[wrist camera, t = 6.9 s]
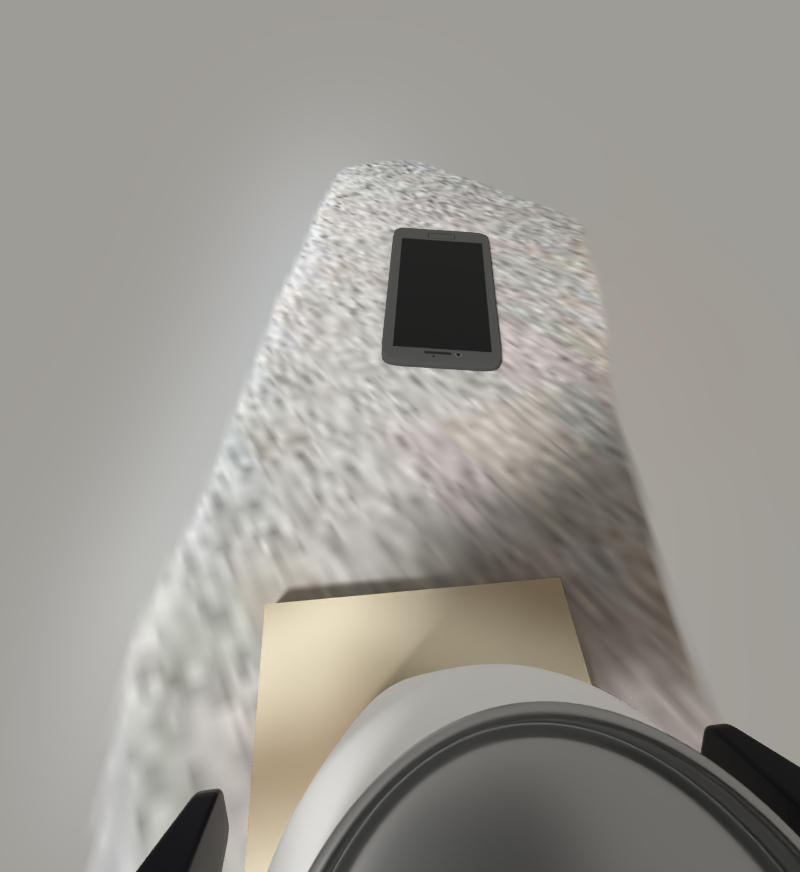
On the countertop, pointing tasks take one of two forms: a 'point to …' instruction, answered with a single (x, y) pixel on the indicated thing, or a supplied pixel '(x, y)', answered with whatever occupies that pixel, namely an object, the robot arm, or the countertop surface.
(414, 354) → the cell phone
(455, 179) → the countertop surface
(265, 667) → the coaster
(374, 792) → the can
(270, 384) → the countertop surface
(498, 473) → the countertop surface
